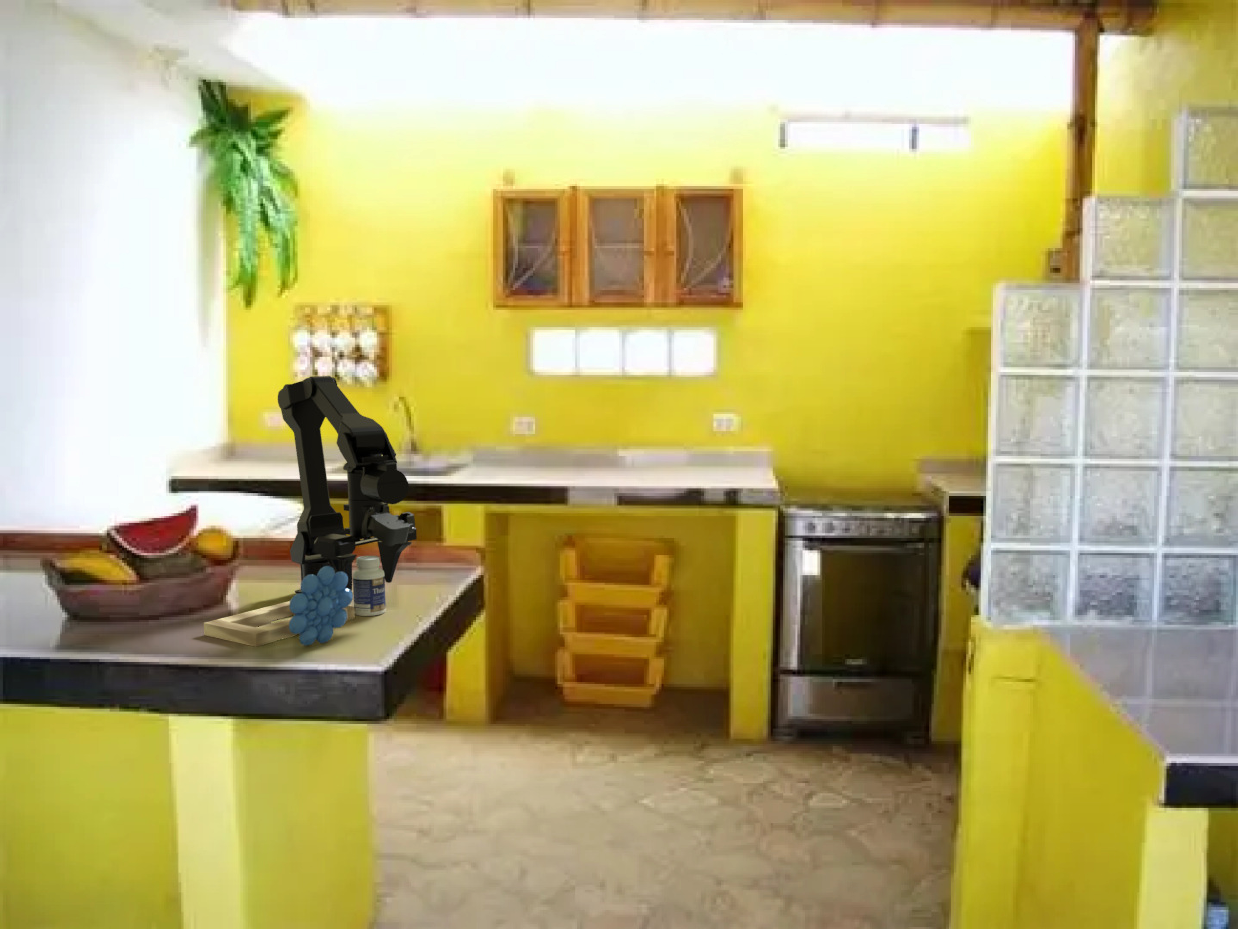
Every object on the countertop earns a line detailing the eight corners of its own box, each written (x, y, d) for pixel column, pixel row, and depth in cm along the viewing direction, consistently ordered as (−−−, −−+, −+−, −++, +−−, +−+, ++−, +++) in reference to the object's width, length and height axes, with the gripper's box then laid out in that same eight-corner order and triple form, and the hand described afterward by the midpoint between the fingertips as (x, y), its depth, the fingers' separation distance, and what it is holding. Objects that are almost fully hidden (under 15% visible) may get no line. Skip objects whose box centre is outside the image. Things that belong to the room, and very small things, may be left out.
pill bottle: (378, 617, 181) (375, 561, 180) (348, 616, 182) (346, 560, 181) (391, 609, 186) (389, 555, 185) (362, 608, 187) (360, 554, 186)
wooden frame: (303, 608, 188) (303, 597, 187) (354, 618, 180) (354, 606, 180) (204, 635, 171) (203, 622, 171) (256, 646, 164) (255, 634, 164)
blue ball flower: (336, 630, 173) (333, 558, 171) (363, 637, 169) (360, 562, 167) (274, 647, 164) (270, 570, 162) (300, 654, 159) (297, 576, 158)
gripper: (356, 509, 170) (360, 604, 171) (438, 494, 185) (440, 582, 187) (310, 504, 176) (314, 596, 178) (392, 490, 191) (395, 575, 193)
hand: (369, 587), depth 184 cm, fingers open, 9 cm apart
